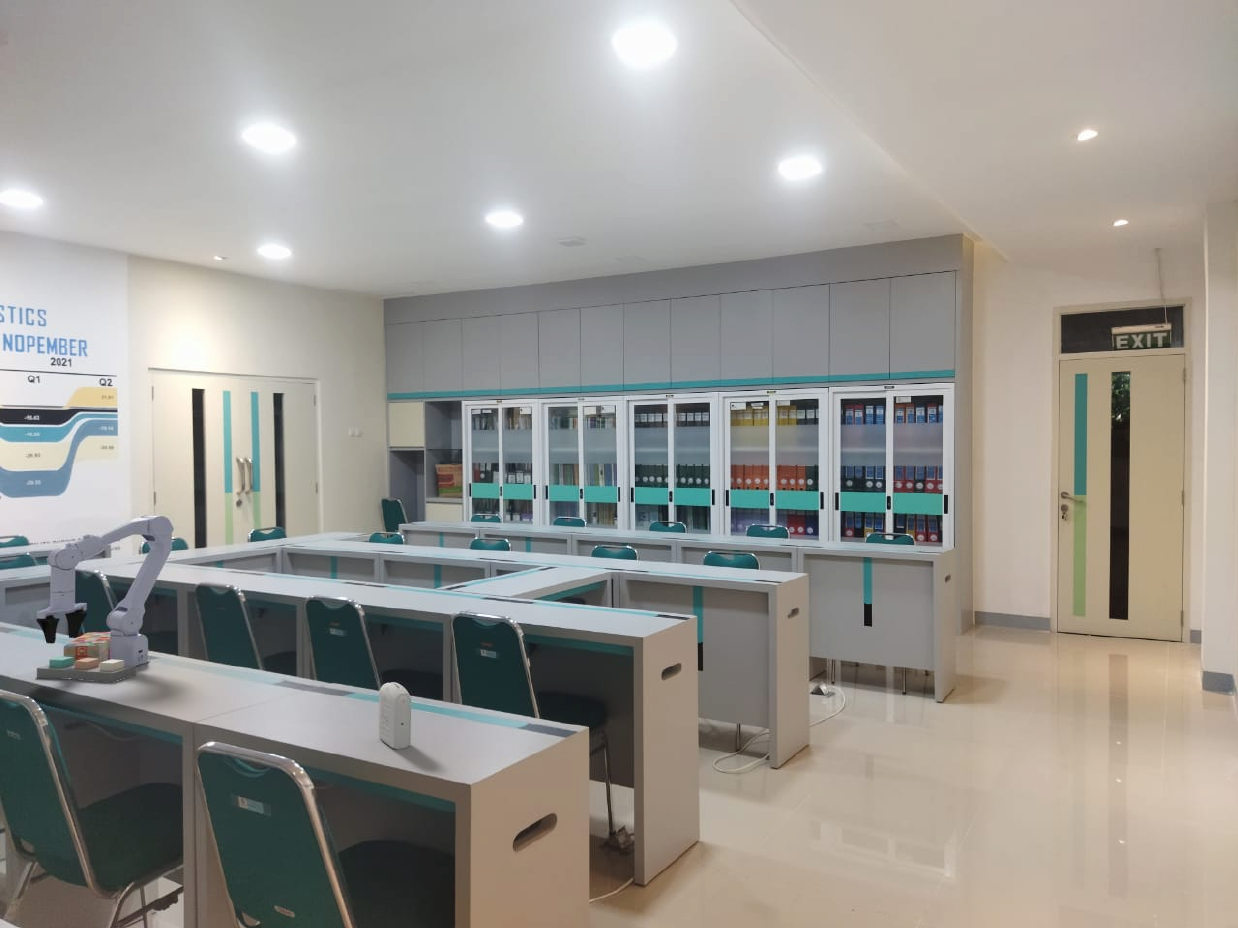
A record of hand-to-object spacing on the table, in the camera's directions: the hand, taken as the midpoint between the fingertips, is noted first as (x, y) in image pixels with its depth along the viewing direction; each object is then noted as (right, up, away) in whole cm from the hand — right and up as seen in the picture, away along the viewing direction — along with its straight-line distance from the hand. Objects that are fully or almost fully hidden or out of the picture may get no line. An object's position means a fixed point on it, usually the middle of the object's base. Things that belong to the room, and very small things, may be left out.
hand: (62, 640), depth 232 cm
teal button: (0, -9, 0) cm, 9 cm away
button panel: (+8, -10, -2) cm, 12 cm away
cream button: (+16, -10, -3) cm, 19 cm away
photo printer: (+107, -10, -55) cm, 120 cm away
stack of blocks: (-8, -6, +18) cm, 20 cm away
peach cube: (+8, -10, -2) cm, 12 cm away
